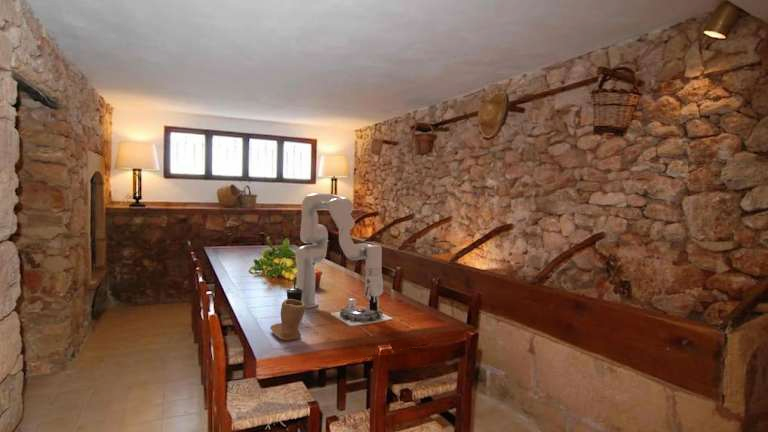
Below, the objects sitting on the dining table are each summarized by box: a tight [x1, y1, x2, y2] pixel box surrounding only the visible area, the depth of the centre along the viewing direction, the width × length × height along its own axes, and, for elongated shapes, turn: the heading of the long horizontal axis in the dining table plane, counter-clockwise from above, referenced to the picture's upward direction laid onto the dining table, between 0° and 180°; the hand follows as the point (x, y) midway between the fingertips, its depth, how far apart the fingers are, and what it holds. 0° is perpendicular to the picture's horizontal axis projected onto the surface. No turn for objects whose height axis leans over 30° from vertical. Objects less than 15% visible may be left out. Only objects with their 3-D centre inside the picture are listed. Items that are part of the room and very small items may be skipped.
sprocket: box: [339, 298, 384, 322], centre depth 205 cm, size 21×21×9 cm
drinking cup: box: [286, 276, 303, 301], centre depth 198 cm, size 8×8×20 cm
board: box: [330, 311, 394, 328], centre depth 205 cm, size 23×21×1 cm
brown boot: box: [270, 298, 306, 341], centre depth 175 cm, size 15×12×15 cm
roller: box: [347, 297, 357, 307], centre depth 219 cm, size 4×4×5 cm
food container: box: [295, 268, 323, 291], centre depth 262 cm, size 16×16×11 cm
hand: (373, 310), depth 199 cm, fingers closed
